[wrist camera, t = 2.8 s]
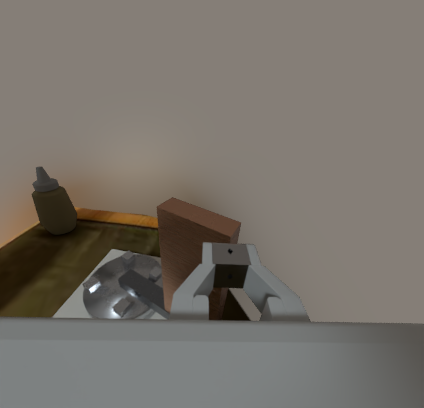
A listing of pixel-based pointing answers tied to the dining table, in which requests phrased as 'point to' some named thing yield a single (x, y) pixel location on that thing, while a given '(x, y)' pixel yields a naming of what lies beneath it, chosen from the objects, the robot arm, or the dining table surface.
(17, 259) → the dining table surface
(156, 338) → the robot arm
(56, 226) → the squeeze bottle
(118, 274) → the silver brown l-shaped piece
